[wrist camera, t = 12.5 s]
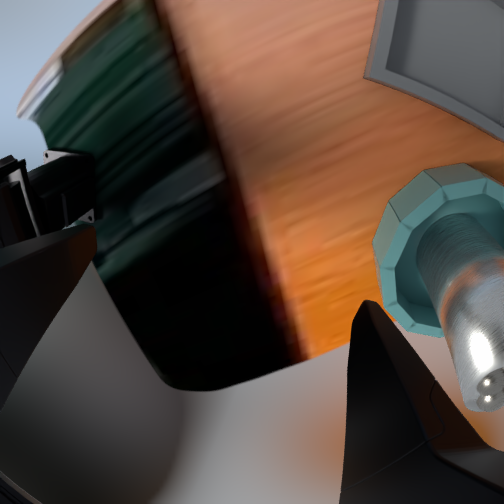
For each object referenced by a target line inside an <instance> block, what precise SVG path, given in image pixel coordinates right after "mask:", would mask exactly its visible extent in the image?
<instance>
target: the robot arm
mask: <svg viewBox="0 0 504 504" xmlns="http://www.w3.org/2000/svg"><path fill="white" fill-rule="evenodd" d="M43 156H44V165H42V166H40V167H38V168H36V169H33V170H31V171H29V172H27V169H26V161H25V159H22V160H20V161H18V160H17V159H15V158H14V157H13V156H12V155H9V156H7V157H5V158H3V159H0V413H1V411H2V409H3V407H4V405H5V403H6V401H7V399H8V397H9V395H10V393H11V391H12V389H13V387H14V385H15V383H16V381H17V379H18V377H19V376H20V374H21V372H22V370H23V368H24V367H25V365H26V363H27V361H28V360H29V358H30V356H31V355H32V353H33V351H34V349H35V347H36V346H37V344H38V343H39V341H40V340H41V338H42V336H43V335H44V333H45V331H46V330H47V328H48V327H49V325H50V324H51V322H52V321H53V319H54V318H55V316H56V315H57V313H58V312H59V310H60V309H61V307H62V306H63V304H64V303H65V301H66V300H67V298H68V297H69V296H70V294H71V293H72V291H73V290H74V288H75V287H76V285H77V284H78V282H79V280H80V279H81V277H82V275H83V274H84V272H85V270H86V269H87V267H88V265H89V263H90V262H91V260H92V259H93V257H94V255H95V254H96V251H97V240H96V231H95V228H94V227H93V226H91V225H88V224H81V225H77V226H74V227H70V228H67V229H63V228H64V227H68V226H69V225H71V224H72V223H73V222H75V221H76V220H82V221H85V222H89V223H93V222H95V221H96V219H97V215H96V200H95V176H94V157H93V156H92V155H91V154H84V153H77V152H69V151H61V150H52V149H48V150H46V151H44V155H43ZM88 159H89V162H88ZM91 217H92V218H91ZM62 229H63V230H62ZM0 504H42V503H40V502H39V501H38V500H36V499H35V498H33V497H32V496H30V495H29V494H28V493H27V492H25V491H24V490H23V489H21V488H20V487H19V486H17V485H16V484H15V483H14V482H12V481H11V480H10V479H9V478H8V477H6V476H5V475H4V474H3V473H2V472H1V471H0ZM339 504H504V452H502V451H499V450H496V449H494V448H492V447H491V446H489V445H488V444H487V443H485V442H484V441H483V439H482V438H481V437H480V436H479V434H478V433H477V432H476V431H475V429H474V428H473V427H472V426H471V424H470V423H469V422H468V421H467V419H466V418H465V417H464V416H463V414H461V412H460V411H459V409H458V408H457V407H456V406H455V404H454V403H453V402H452V401H451V399H450V398H449V397H448V395H447V394H446V393H445V391H444V390H443V389H442V387H441V386H440V384H439V383H438V381H437V380H435V377H434V376H433V375H432V373H431V372H430V370H429V369H428V368H427V366H426V365H425V364H424V362H423V361H422V359H421V358H420V357H419V355H418V354H417V353H416V351H415V350H414V349H413V348H412V346H411V345H410V344H409V342H408V341H407V340H406V338H405V337H404V336H403V335H402V333H401V332H400V331H399V329H398V328H397V327H396V326H395V324H394V323H393V322H392V320H391V319H390V318H389V317H388V315H387V314H386V313H385V312H384V310H383V309H382V308H381V307H380V305H379V304H378V303H377V302H374V301H370V300H364V301H363V302H362V304H361V306H360V308H359V310H358V311H357V313H356V315H355V317H354V319H353V322H352V328H351V339H350V349H349V357H348V367H347V413H346V434H345V449H344V462H343V474H342V484H341V493H340V500H339Z"/></svg>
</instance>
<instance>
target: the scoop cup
mask: <svg viewBox="0 0 504 504" xmlns="http://www.w3.org/2000/svg"><path fill="white" fill-rule="evenodd" d="M416 263H417V267H418V270H419V273H420V275H421V277H422V279H423V282H424V284H425V286H426V289H427V291H428V294H429V296H430V299H431V301H432V304H433V306H434V309H435V311H436V314H437V317H438V319H439V322H440V325H441V328H442V330H443V333H444V336H445V339H446V342H447V345H448V348H449V351H450V354H451V357H452V360H453V364H454V367H455V370H456V374H457V377H458V381H459V385H460V388H461V392H462V396H463V400H464V404H465V406H466V407H467V408H468V409H469V410H472V411H477V412H479V411H480V412H481V411H486V412H492V411H495V410H498V409H500V408H501V407H502V406H504V249H503V248H502V247H501V246H500V245H499V244H498V242H497V241H496V240H495V239H494V238H493V237H492V236H491V235H490V233H489V232H488V231H487V230H486V229H485V228H484V227H483V226H482V225H481V224H480V223H479V222H478V221H477V220H476V219H475V218H474V217H472V216H470V215H468V214H464V213H453V214H449V215H446V216H444V217H442V218H440V219H438V220H437V221H435V222H434V223H433V224H432V225H431V226H430V227H429V228H428V229H427V230H426V232H425V233H424V234H423V236H422V238H421V240H420V242H419V245H418V248H417V252H416Z"/></svg>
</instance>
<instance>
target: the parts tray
mask: <svg viewBox="0 0 504 504" xmlns="http://www.w3.org/2000/svg"><path fill="white" fill-rule="evenodd" d="M363 78H364V79H367V80H370V81H373V82H376V83H379V84H382V85H384V86H387V87H390V88H392V89H395V90H398V91H400V92H403V93H405V94H408V95H410V96H413V97H415V98H417V99H420V100H422V101H424V102H427V103H429V104H431V105H433V106H435V107H438V108H440V109H442V110H444V111H446V112H448V113H450V114H452V115H454V116H456V117H458V118H460V119H462V120H464V121H466V122H467V123H469V124H471V125H473V126H475V127H477V128H478V129H480V130H482V131H484V132H485V133H487V134H489V135H490V136H492V137H494V138H495V139H497V140H499V141H501V142H504V0H379V5H378V10H377V15H376V21H375V26H374V31H373V36H372V40H371V45H370V50H369V54H368V59H367V63H366V68H365V72H364V76H363Z"/></svg>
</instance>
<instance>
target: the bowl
mask: <svg viewBox="0 0 504 504" xmlns="http://www.w3.org/2000/svg"><path fill="white" fill-rule="evenodd" d="M453 213H464V214H468V215H470V216H472V217H474V218H475V219H476V220H477V221H478V222H479V223H480V224H481V225H482V226H483V227H484V228H485V229H486V230H487V231H488V232H489V233H490V235H491V236H492V237H493V238H494V239H495V240H496V241H497V242H498V244H499V245H500V246H501V247H502V248H503V249H504V185H503V184H502V183H500V182H499V181H497V180H496V179H494V178H492V177H490V176H488V175H487V174H485V173H483V172H481V171H479V170H477V169H475V168H473V167H471V166H469V165H467V164H465V163H460V164H454V165H448V166H443V167H437V168H432V169H427V170H424V171H422V172H421V173H420V174H418V175H417V176H416V177H415V178H414V179H413V180H412V181H411V182H409V183H408V184H407V185H406V186H405V187H404V188H403V189H401V190H400V191H399V192H398V193H397V194H396V195H395V196H393V197H392V198H391V199H390V200H389V202H388V203H387V206H386V208H385V211H384V214H383V216H382V219H381V221H380V224H379V226H378V229H377V231H376V234H375V236H374V239H373V241H372V245H373V252H374V258H375V265H376V273H377V280H378V284H379V288H380V292H381V296H382V301H383V305H384V308H385V309H386V310H387V311H388V312H389V313H390V314H391V315H392V316H393V317H394V318H395V319H396V320H397V321H398V322H399V323H400V325H401V326H402V327H403V328H404V329H405V330H406V331H408V332H413V333H418V334H423V335H428V336H434V337H438V338H441V337H445V336H444V333H443V330H442V328H441V325H440V322H439V319H438V317H437V314H436V311H435V309H434V306H433V304H432V301H431V299H430V296H429V294H428V291H427V289H426V286H425V284H424V282H423V279H422V277H421V275H420V273H419V270H418V267H417V263H416V252H417V248H418V245H419V242H420V240H421V238H422V236H423V234H424V233H425V232H426V230H427V229H428V228H429V227H430V226H431V225H432V224H433V223H434V222H435V221H437V220H438V219H440V218H442V217H444V216H446V215H449V214H453Z"/></svg>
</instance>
